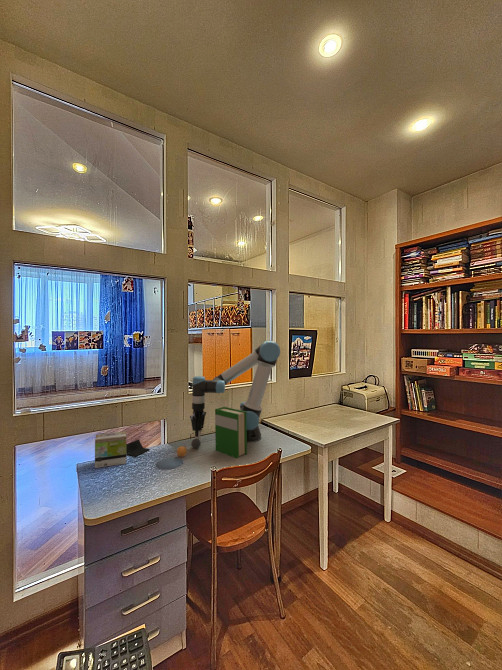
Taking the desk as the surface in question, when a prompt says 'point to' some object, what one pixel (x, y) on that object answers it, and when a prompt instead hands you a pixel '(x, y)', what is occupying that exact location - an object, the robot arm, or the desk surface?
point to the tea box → (110, 449)
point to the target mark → (169, 463)
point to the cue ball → (195, 443)
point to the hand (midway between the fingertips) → (197, 441)
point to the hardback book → (231, 431)
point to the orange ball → (181, 451)
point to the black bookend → (135, 448)
